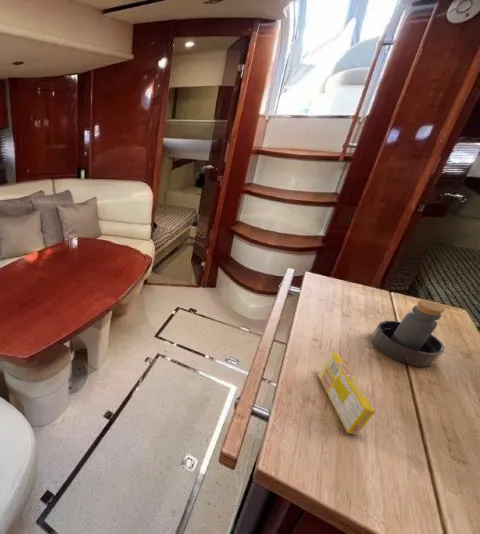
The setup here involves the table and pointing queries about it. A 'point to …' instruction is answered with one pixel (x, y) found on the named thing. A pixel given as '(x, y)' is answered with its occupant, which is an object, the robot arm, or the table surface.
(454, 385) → the table surface
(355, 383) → the candy box
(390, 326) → the pan
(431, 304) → the bottle
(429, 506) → the table surface
